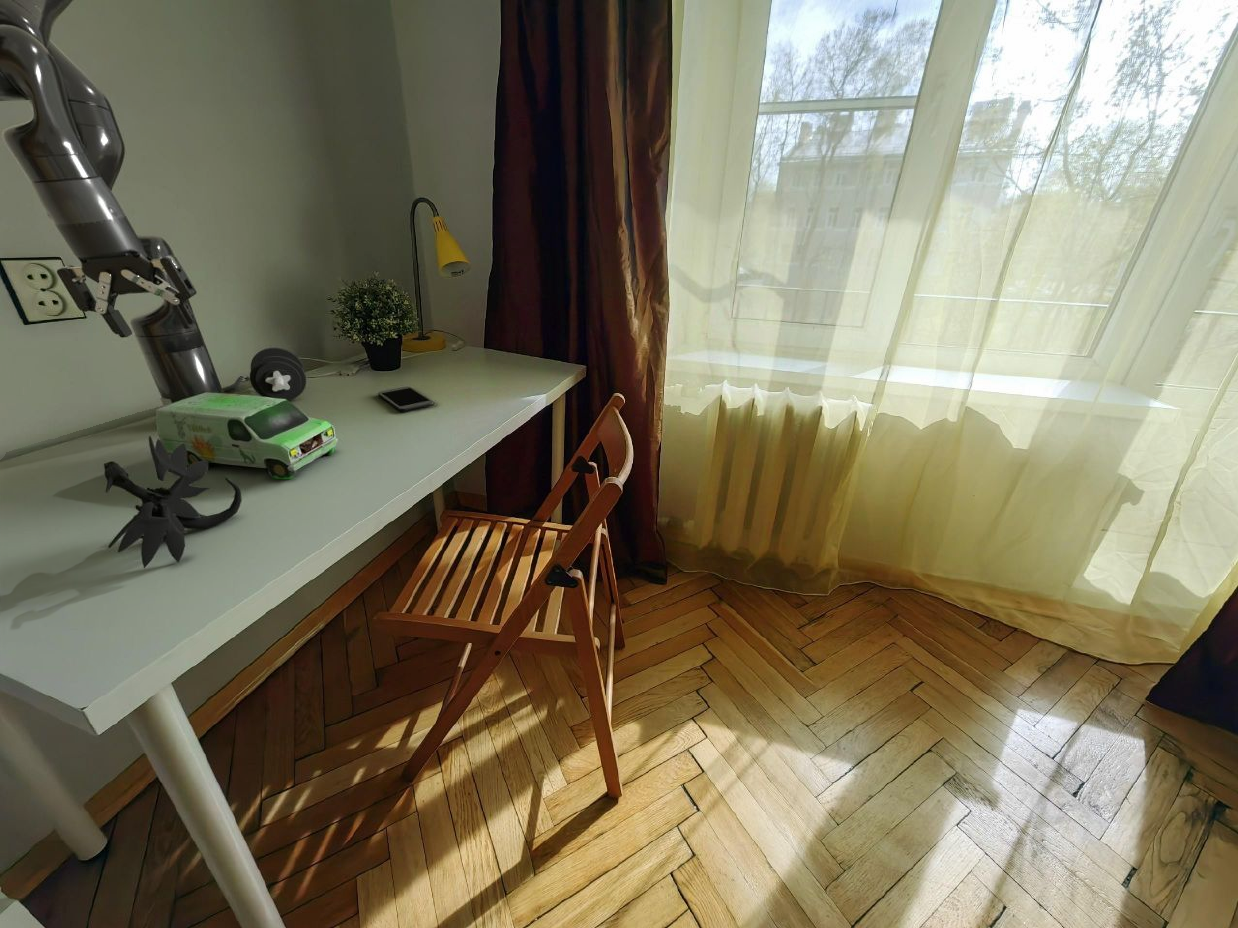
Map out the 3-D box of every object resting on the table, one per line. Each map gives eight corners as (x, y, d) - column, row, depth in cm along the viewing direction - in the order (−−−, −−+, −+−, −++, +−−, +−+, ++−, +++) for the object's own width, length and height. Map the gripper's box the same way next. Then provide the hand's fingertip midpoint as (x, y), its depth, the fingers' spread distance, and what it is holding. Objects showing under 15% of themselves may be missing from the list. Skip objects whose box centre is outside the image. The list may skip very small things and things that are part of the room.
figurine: (212, 589, 63) (215, 564, 55) (73, 577, 56) (55, 547, 48) (250, 478, 70) (257, 444, 63) (132, 455, 63) (124, 414, 56)
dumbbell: (314, 406, 105) (300, 360, 100) (258, 414, 100) (241, 367, 95) (307, 380, 121) (295, 339, 116) (258, 386, 116) (244, 344, 111)
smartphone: (409, 388, 115) (408, 384, 115) (436, 405, 105) (435, 401, 105) (376, 395, 111) (376, 391, 110) (401, 413, 101) (400, 409, 100)
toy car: (297, 482, 75) (277, 421, 70) (166, 466, 79) (139, 408, 75) (345, 452, 84) (330, 397, 80) (225, 440, 89) (204, 387, 84)
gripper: (161, 209, 72) (218, 317, 81) (43, 218, 69) (117, 331, 78) (137, 215, 66) (202, 332, 75) (7, 227, 63) (91, 347, 72)
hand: (158, 331), depth 77 cm, fingers open, 8 cm apart
